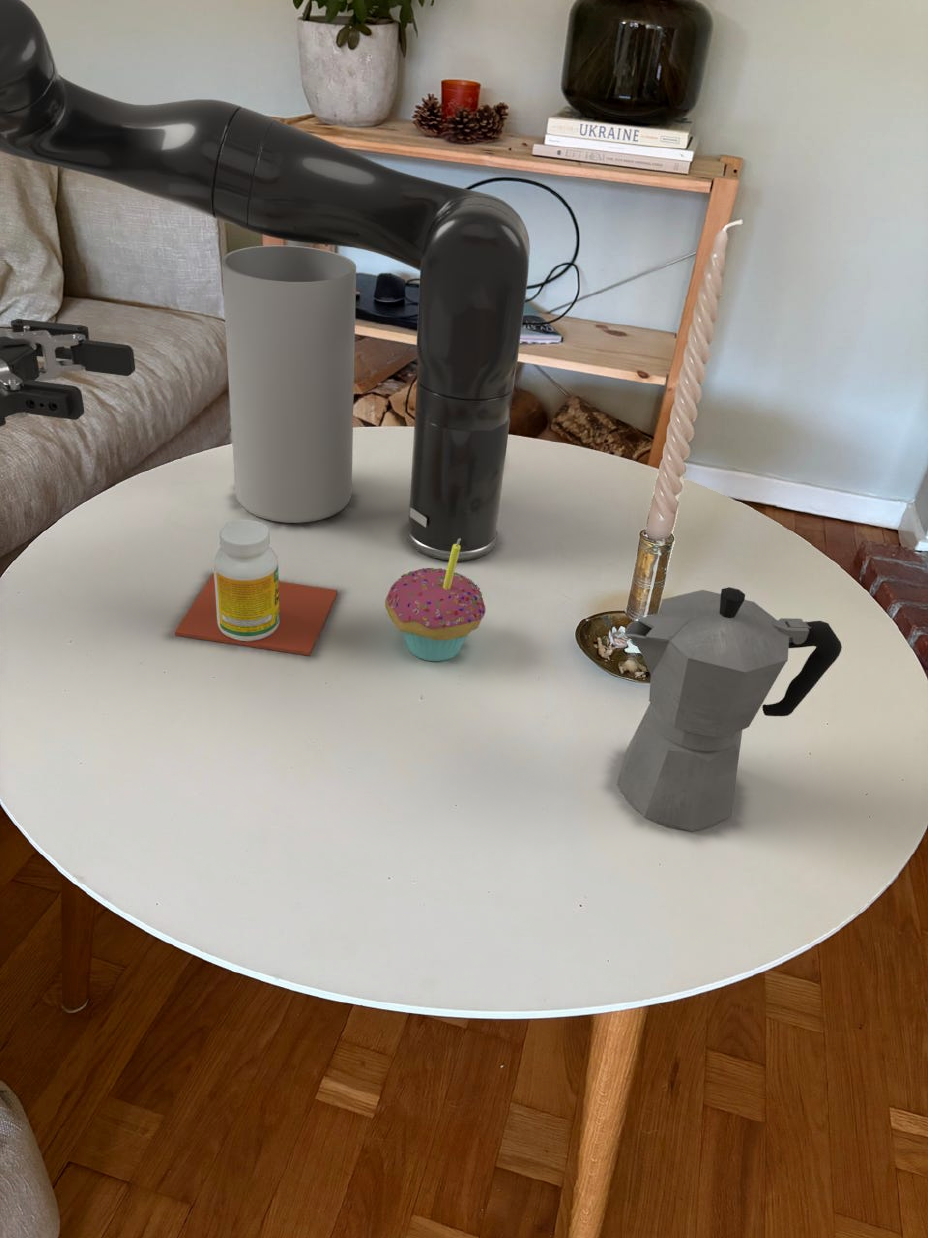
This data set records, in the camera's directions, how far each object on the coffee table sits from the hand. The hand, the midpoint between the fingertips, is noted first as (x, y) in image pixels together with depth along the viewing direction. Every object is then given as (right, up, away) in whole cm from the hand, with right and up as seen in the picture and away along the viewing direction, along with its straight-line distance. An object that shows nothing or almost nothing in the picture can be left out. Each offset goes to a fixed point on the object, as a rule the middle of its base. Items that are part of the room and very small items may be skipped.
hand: (108, 381), depth 69 cm
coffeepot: (+43, -30, +4) cm, 53 cm away
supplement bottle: (+7, -18, +15) cm, 25 cm away
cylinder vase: (+7, -4, +36) cm, 37 cm away
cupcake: (+23, -20, +16) cm, 34 cm away
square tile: (+7, -17, +18) cm, 25 cm away
